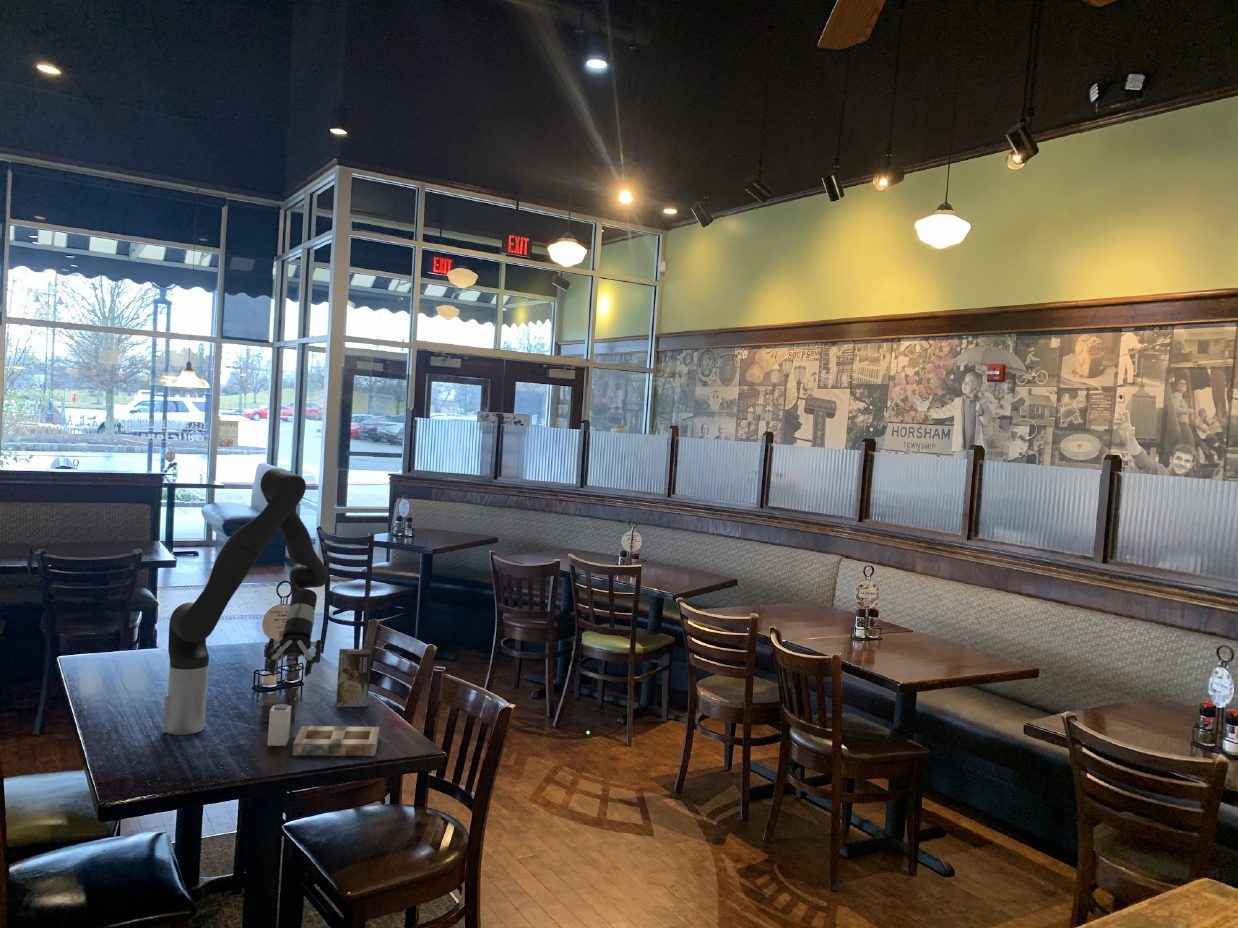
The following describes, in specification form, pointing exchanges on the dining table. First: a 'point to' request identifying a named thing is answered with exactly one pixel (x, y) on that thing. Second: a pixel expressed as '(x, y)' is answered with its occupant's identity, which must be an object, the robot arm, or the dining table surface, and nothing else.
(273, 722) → the white tall rectangular block
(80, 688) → the dining table surface
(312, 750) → the socket board
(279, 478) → the robot arm
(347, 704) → the coffee box
